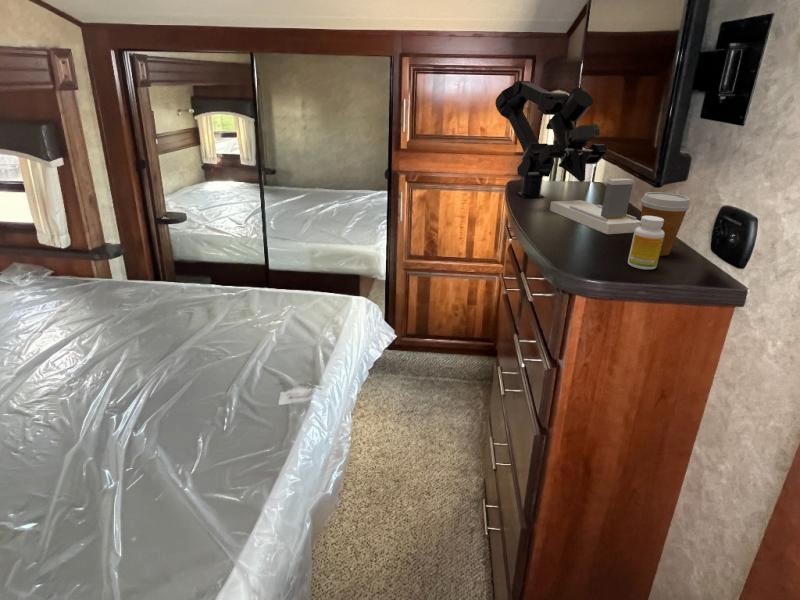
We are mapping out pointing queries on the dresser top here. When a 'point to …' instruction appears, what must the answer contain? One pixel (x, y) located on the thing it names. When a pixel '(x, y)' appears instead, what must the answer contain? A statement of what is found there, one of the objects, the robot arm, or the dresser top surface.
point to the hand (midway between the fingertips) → (582, 181)
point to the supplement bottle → (647, 243)
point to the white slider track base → (594, 217)
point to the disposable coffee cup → (666, 214)
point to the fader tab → (617, 197)
